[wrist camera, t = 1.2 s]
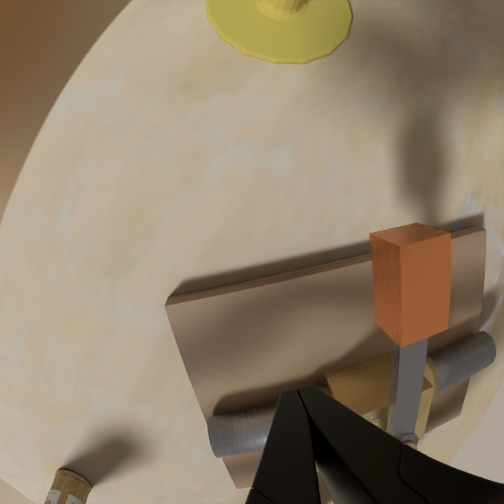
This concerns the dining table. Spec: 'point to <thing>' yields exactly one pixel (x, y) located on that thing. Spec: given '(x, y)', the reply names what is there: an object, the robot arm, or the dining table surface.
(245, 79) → the dining table surface
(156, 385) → the dining table surface
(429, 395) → the valve body
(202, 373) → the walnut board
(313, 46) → the candle
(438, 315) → the valve lever
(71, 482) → the sprinkles bottle
